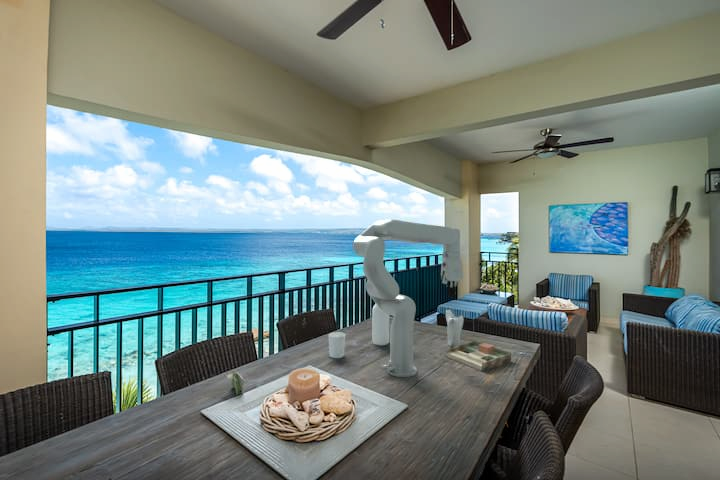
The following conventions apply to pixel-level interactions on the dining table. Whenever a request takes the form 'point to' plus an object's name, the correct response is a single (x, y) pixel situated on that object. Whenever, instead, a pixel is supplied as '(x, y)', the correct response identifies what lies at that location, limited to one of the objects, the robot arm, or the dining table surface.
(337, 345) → the white cup
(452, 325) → the shell sculpture
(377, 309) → the alcohol
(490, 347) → the block
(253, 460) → the dining table surface
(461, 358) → the box
